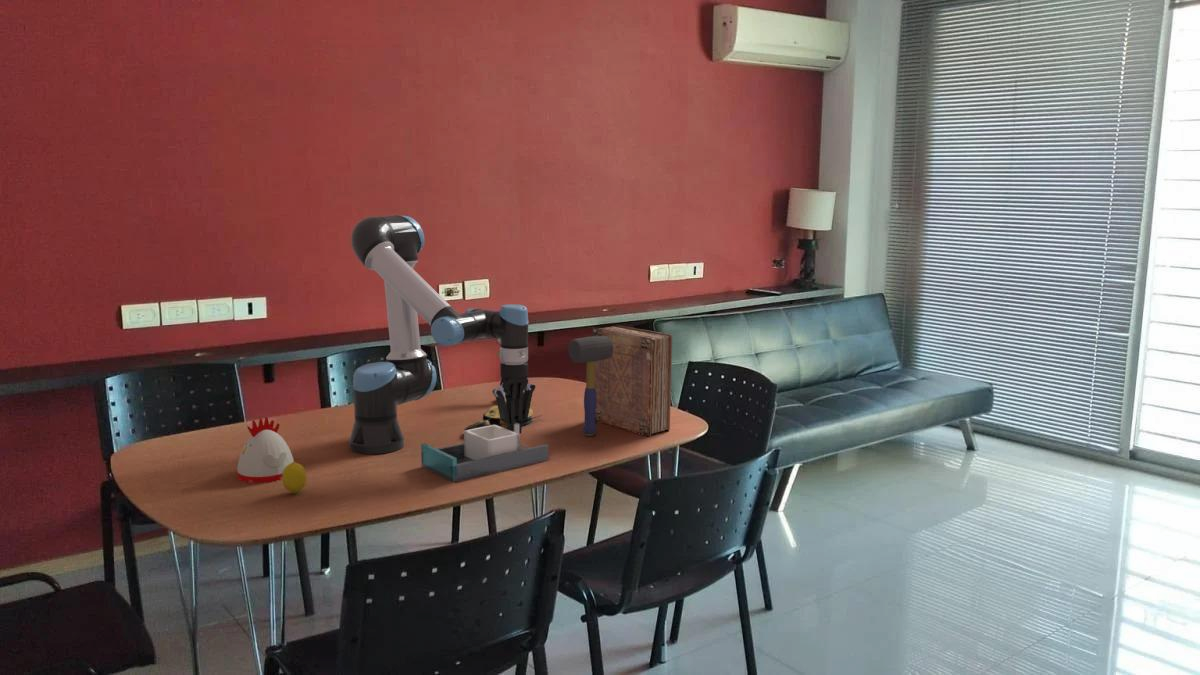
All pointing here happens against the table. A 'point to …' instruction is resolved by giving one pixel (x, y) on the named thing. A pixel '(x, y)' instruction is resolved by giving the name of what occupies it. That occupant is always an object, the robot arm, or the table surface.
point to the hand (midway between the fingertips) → (514, 445)
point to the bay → (476, 461)
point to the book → (634, 380)
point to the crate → (489, 442)
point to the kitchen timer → (263, 454)
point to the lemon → (294, 477)
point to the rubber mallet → (590, 371)
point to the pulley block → (497, 419)
